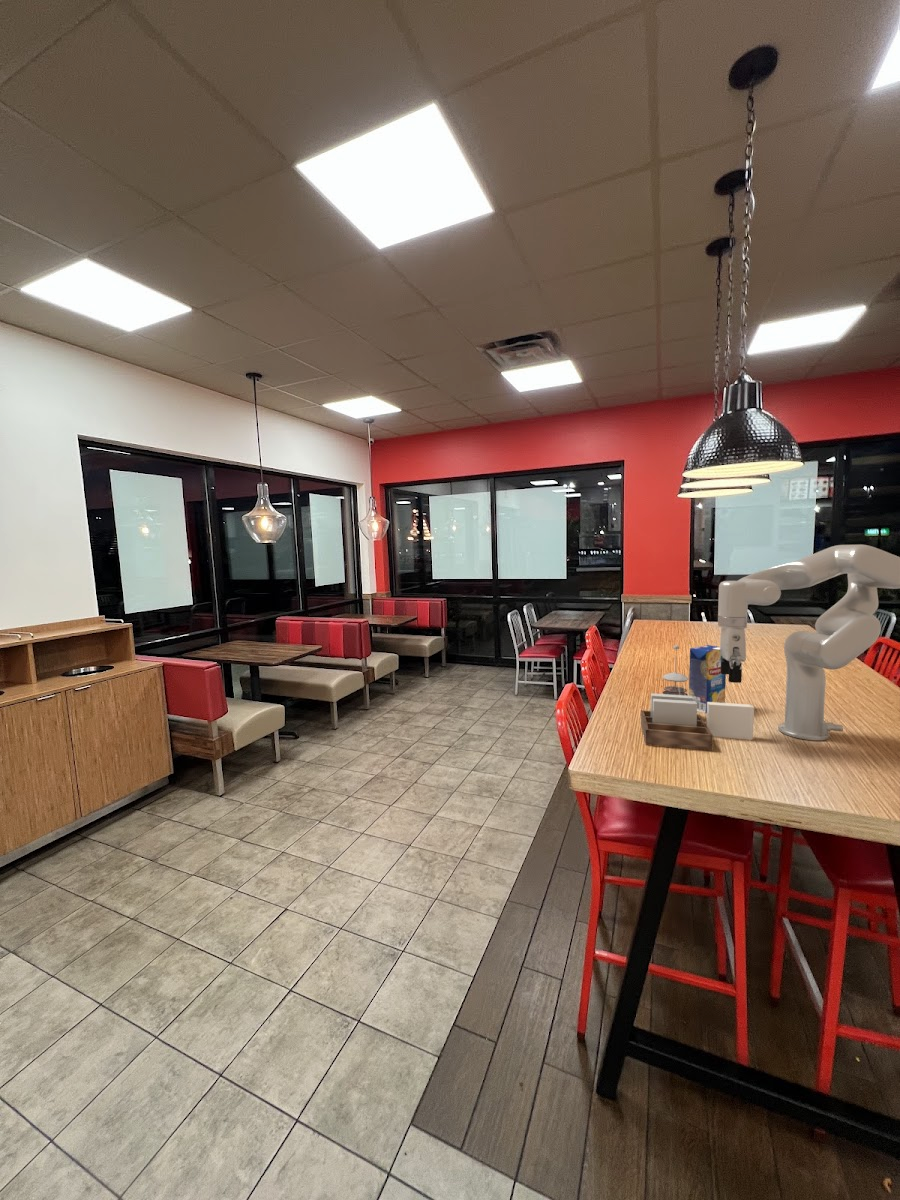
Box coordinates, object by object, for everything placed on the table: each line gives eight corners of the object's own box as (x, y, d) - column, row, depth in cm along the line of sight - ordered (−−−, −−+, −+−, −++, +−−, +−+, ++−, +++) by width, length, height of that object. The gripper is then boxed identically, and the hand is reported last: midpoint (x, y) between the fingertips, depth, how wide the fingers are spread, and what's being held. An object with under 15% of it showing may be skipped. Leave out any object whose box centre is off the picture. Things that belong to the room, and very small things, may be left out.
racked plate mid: (694, 733, 145) (695, 701, 145) (696, 736, 143) (697, 704, 142) (652, 729, 149) (652, 698, 148) (653, 732, 146) (653, 701, 145)
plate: (750, 736, 145) (751, 704, 144) (752, 740, 142) (754, 707, 141) (706, 732, 148) (707, 701, 147) (708, 736, 145) (709, 704, 145)
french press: (683, 712, 167) (685, 642, 165) (697, 723, 156) (699, 648, 154) (655, 711, 168) (656, 642, 166) (666, 723, 157) (668, 649, 155)
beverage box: (724, 708, 171) (726, 647, 169) (706, 713, 165) (708, 651, 163) (706, 703, 177) (708, 645, 175) (688, 708, 171) (689, 648, 169)
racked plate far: (691, 726, 151) (691, 695, 150) (692, 729, 148) (693, 698, 147) (650, 723, 155) (650, 693, 154) (651, 726, 152) (651, 695, 151)
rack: (699, 728, 152) (699, 714, 152) (712, 750, 135) (712, 735, 134) (640, 723, 157) (640, 710, 157) (645, 744, 140) (645, 729, 140)
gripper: (755, 626, 132) (753, 686, 134) (738, 618, 149) (737, 671, 150) (725, 626, 135) (723, 685, 136) (711, 618, 151) (710, 670, 153)
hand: (730, 678), depth 143 cm, fingers open, 9 cm apart
